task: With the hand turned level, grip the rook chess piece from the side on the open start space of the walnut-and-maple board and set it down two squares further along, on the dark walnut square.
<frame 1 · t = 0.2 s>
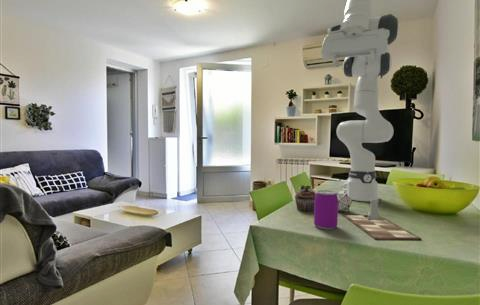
hand: (351, 64, 93), 54 cm above the table, tool tilted 30°, fingers open, 8 cm apart
cupcake: (306, 209, 123), on the table
rook chess piece: (373, 219, 110), resting on board
game die: (341, 211, 120), on the table
board: (377, 226, 101), on the table
beverage can: (325, 227, 100), on the table
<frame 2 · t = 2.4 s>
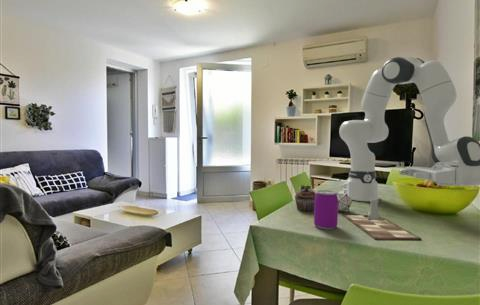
hand: (406, 173, 109), 17 cm above the table, tool horizontal, fingers open, 8 cm apart
nothing on the table moved.
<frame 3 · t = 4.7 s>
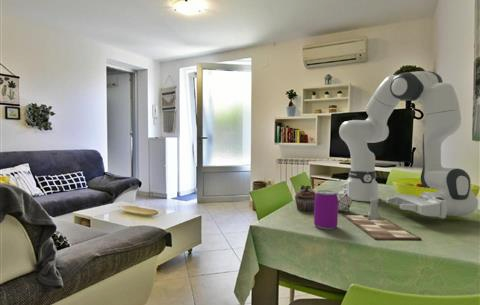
hand: (393, 203, 109), 6 cm above the table, tool horizontal, fingers open, 8 cm apart
nothing on the table moved.
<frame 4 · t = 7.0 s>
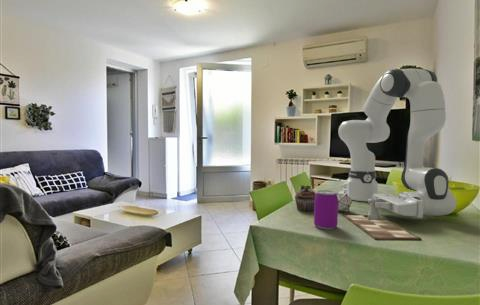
hand: (371, 203, 109), 6 cm above the table, tool horizontal, fingers closed on rook chess piece, 3 cm apart
rook chess piece: (373, 219, 110), resting on board, touching gripper
everything else where it was.
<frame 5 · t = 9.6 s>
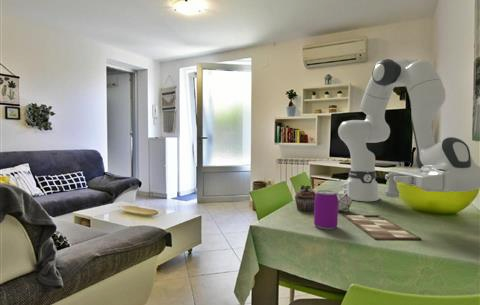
hand: (389, 178, 97), 17 cm above the table, tool horizontal, fingers closed on rook chess piece, 3 cm apart
rook chess piece: (392, 197, 97), point 11 cm above the table, touching gripper
everything else where it was.
when the fingers open (7 cm above the table, at t = 12.5 s): rook chess piece stays where it is, resting on board.
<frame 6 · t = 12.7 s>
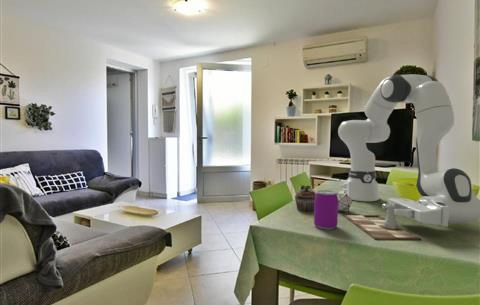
hand: (388, 209, 97), 7 cm above the table, tool horizontal, fingers open, 6 cm apart
rook chess piece: (390, 228, 98), resting on board
everything else where it was.
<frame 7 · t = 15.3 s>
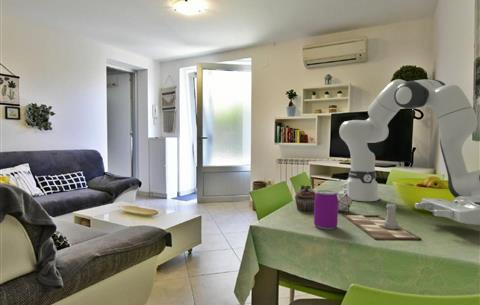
hand: (424, 209, 97), 7 cm above the table, tool horizontal, fingers open, 8 cm apart
nothing on the table moved.
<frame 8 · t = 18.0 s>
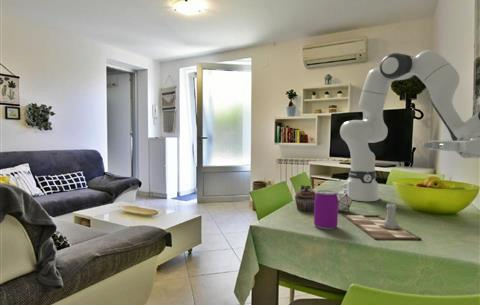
hand: (432, 145, 104), 28 cm above the table, tool horizontal, fingers open, 8 cm apart
nothing on the table moved.
at the end: rook chess piece 0.1 cm from the target spot on the board, point 0.3 cm above the board's base; rook chess piece tilted 0°; the gripper is holding nothing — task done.
